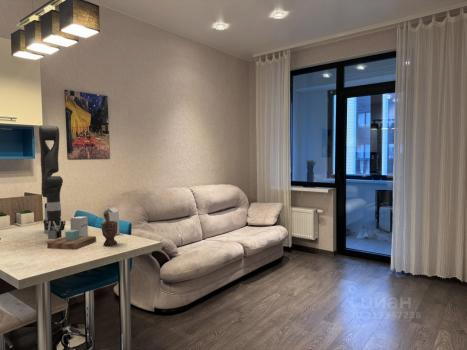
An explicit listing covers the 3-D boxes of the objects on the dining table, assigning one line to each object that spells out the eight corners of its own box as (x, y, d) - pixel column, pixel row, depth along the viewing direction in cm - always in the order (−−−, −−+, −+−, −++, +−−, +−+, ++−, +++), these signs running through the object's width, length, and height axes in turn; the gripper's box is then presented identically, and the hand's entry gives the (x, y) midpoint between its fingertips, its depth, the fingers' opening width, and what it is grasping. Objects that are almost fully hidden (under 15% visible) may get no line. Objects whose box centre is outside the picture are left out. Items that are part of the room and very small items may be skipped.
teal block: (65, 240, 189) (65, 231, 188) (71, 238, 193) (71, 229, 193) (73, 240, 188) (73, 232, 187) (79, 238, 192) (78, 230, 192)
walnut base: (47, 248, 184) (47, 242, 184) (69, 240, 201) (69, 235, 201) (75, 249, 180) (75, 244, 180) (96, 241, 198) (95, 236, 197)
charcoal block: (48, 238, 197) (47, 230, 197) (54, 236, 202) (54, 228, 202) (55, 239, 196) (55, 231, 196) (61, 237, 201) (61, 229, 201)
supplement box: (81, 238, 206) (80, 218, 205) (70, 238, 207) (69, 218, 207) (88, 235, 213) (87, 216, 212) (78, 235, 215) (77, 216, 214)
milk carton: (119, 233, 219) (118, 204, 218) (114, 235, 212) (113, 206, 211) (109, 233, 219) (108, 204, 218) (103, 235, 212) (102, 206, 211)
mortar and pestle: (119, 246, 185) (118, 211, 184) (103, 248, 181) (102, 212, 180) (116, 242, 195) (115, 208, 194) (101, 244, 191) (100, 209, 190)
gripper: (38, 210, 196) (39, 238, 197) (59, 210, 193) (60, 239, 194) (48, 208, 203) (49, 235, 204) (68, 208, 200) (69, 236, 201)
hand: (54, 237), depth 199 cm, fingers closed on charcoal block, 5 cm apart
